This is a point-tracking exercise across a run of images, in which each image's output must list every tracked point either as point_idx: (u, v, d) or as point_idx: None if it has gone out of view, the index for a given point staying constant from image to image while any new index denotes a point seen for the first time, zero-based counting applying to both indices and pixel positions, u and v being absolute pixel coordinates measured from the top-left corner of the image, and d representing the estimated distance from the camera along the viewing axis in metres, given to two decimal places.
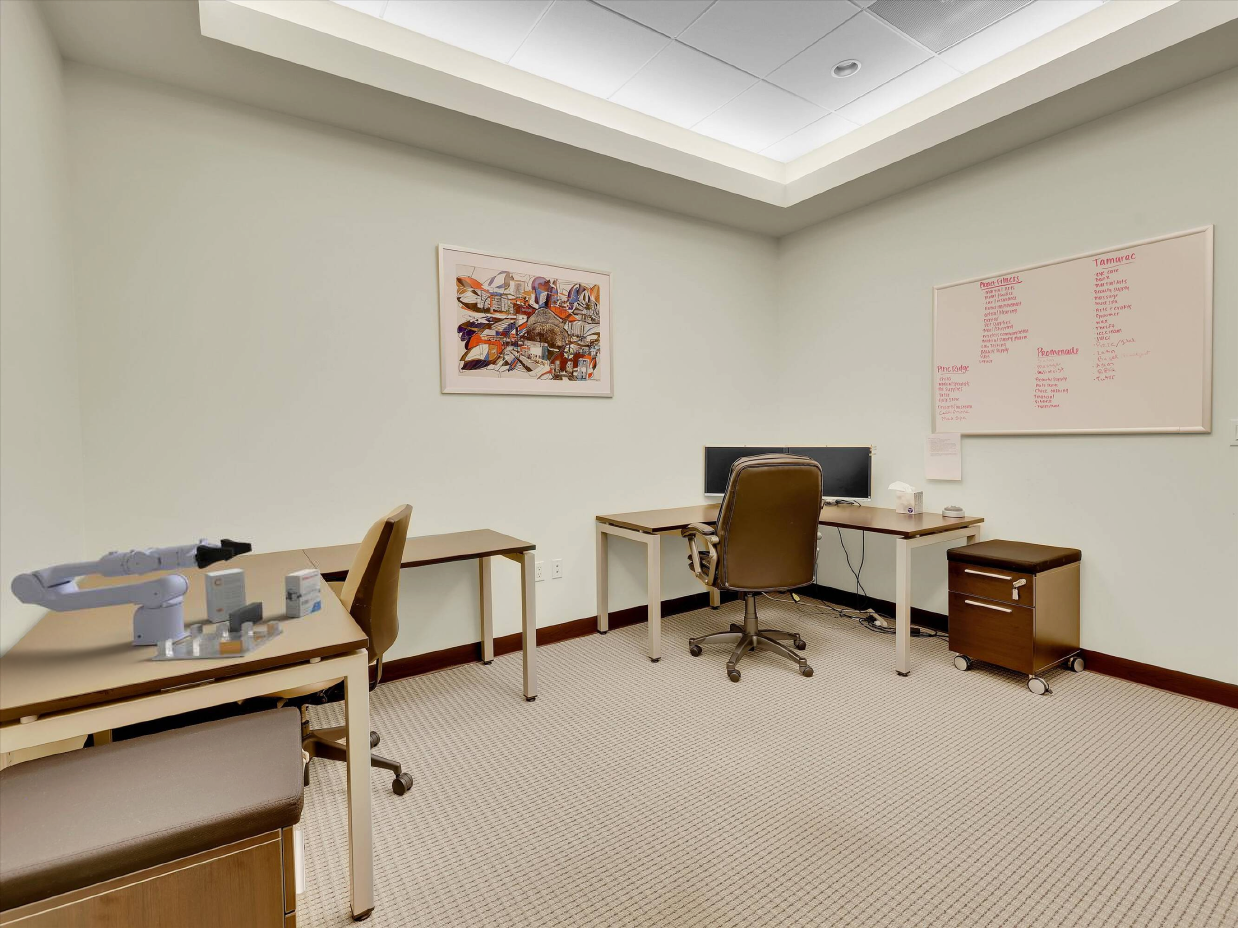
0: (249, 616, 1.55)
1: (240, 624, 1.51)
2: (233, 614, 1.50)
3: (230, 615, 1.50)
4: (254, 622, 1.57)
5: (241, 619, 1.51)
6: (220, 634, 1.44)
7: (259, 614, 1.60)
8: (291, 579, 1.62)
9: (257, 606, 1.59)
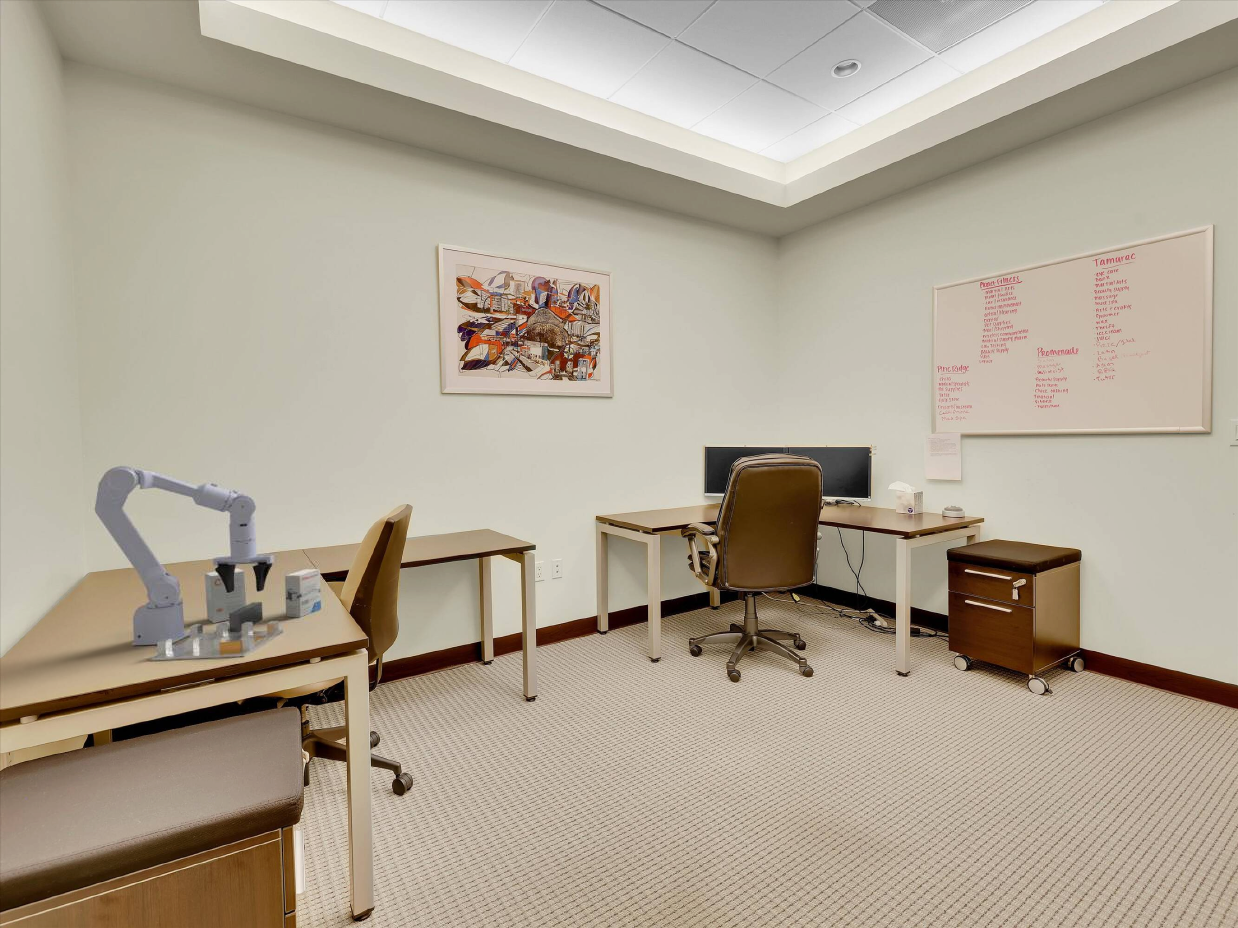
0: (249, 616, 1.55)
1: (240, 624, 1.51)
2: (233, 614, 1.50)
3: (230, 615, 1.50)
4: (254, 622, 1.57)
5: (241, 619, 1.51)
6: (220, 634, 1.44)
7: (259, 614, 1.60)
8: (291, 579, 1.62)
9: (257, 606, 1.59)
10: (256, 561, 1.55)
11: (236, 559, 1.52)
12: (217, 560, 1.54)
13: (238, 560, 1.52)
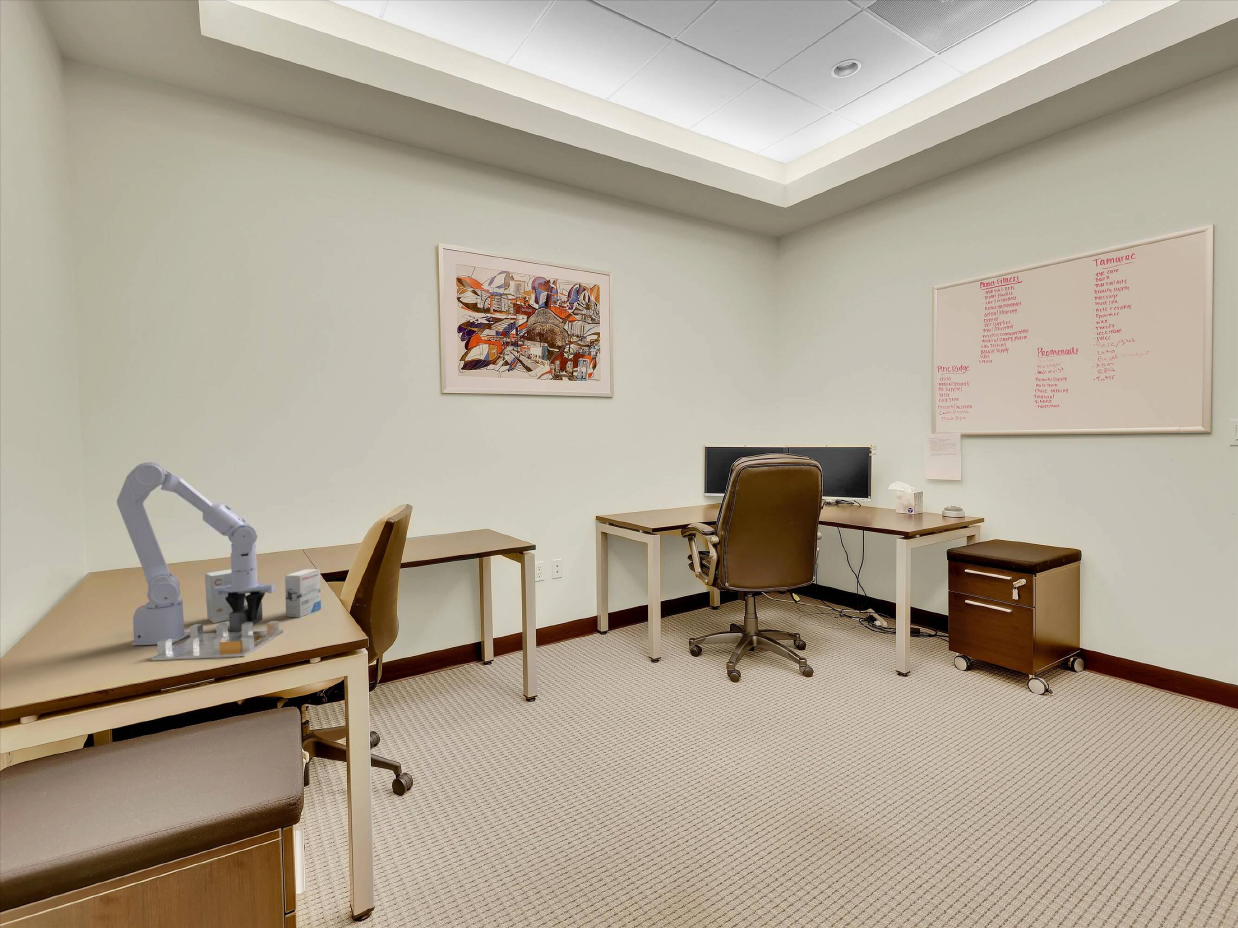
0: None
1: (240, 623, 1.51)
2: (233, 613, 1.50)
3: (230, 614, 1.50)
4: (254, 621, 1.57)
5: (241, 618, 1.51)
6: (220, 634, 1.44)
7: (259, 614, 1.60)
8: (291, 579, 1.62)
9: None
10: (257, 590, 1.55)
11: (237, 589, 1.53)
12: (218, 589, 1.54)
13: (239, 590, 1.53)
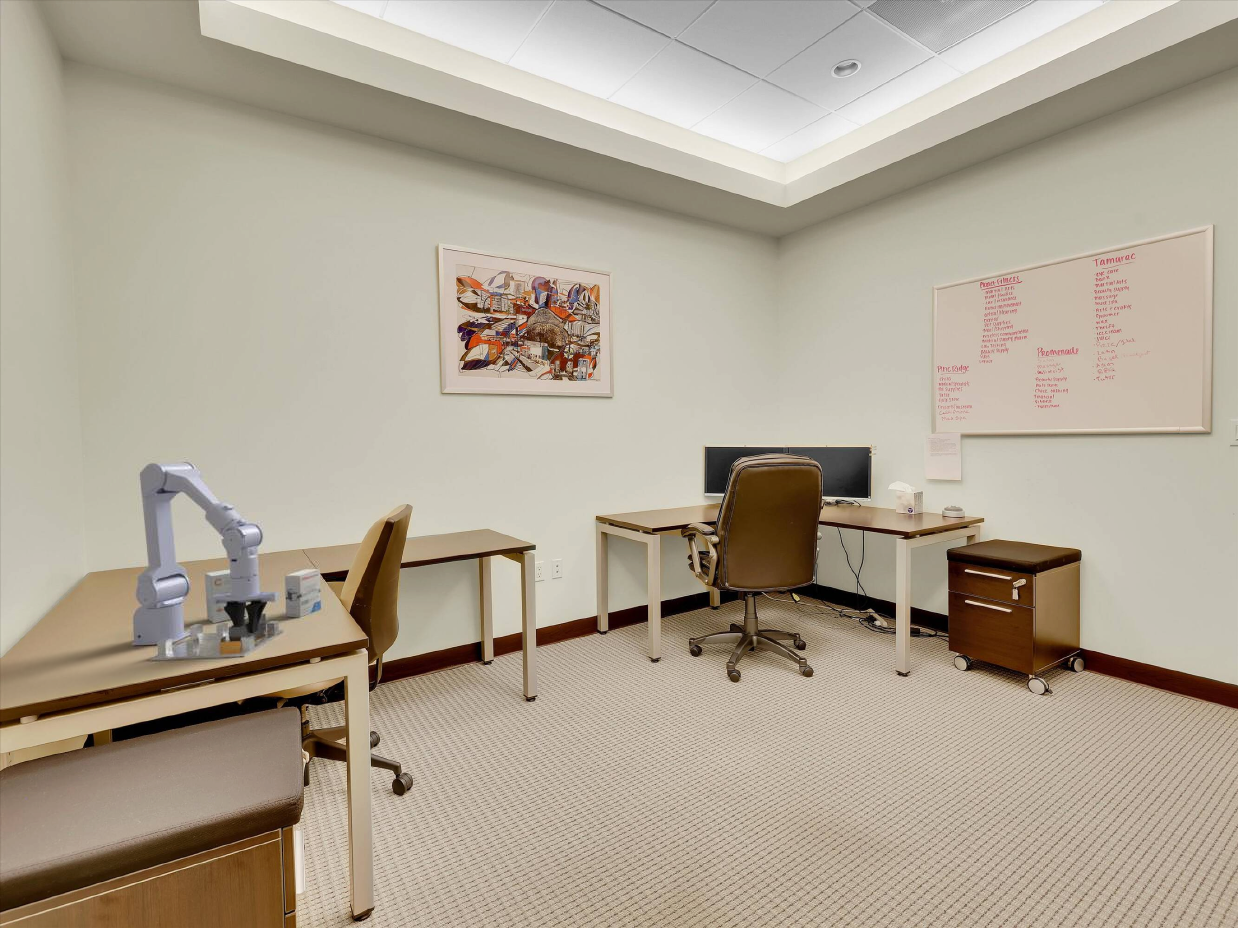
0: None
1: None
2: (233, 628, 1.35)
3: (230, 629, 1.35)
4: (257, 636, 1.42)
5: (242, 633, 1.36)
6: (220, 634, 1.44)
7: (262, 627, 1.45)
8: (291, 579, 1.62)
9: (260, 618, 1.44)
10: (259, 599, 1.40)
11: (237, 597, 1.37)
12: (216, 598, 1.39)
13: (239, 599, 1.37)
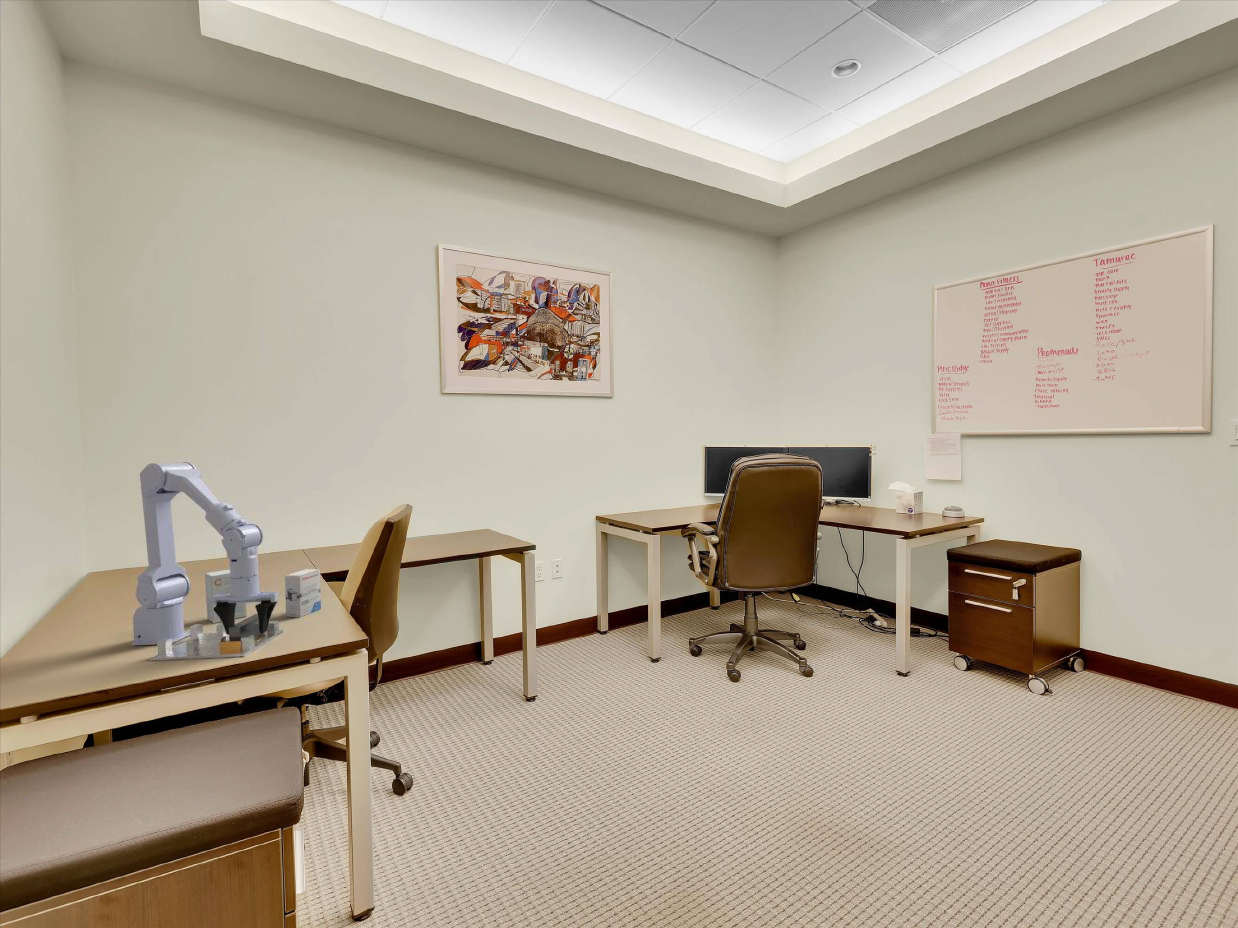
0: (251, 630, 1.40)
1: None
2: (234, 628, 1.35)
3: (230, 629, 1.35)
4: (257, 636, 1.42)
5: (243, 633, 1.36)
6: (220, 634, 1.44)
7: None
8: (291, 579, 1.62)
9: None
10: (259, 599, 1.40)
11: (237, 598, 1.37)
12: (216, 598, 1.39)
13: (239, 599, 1.37)
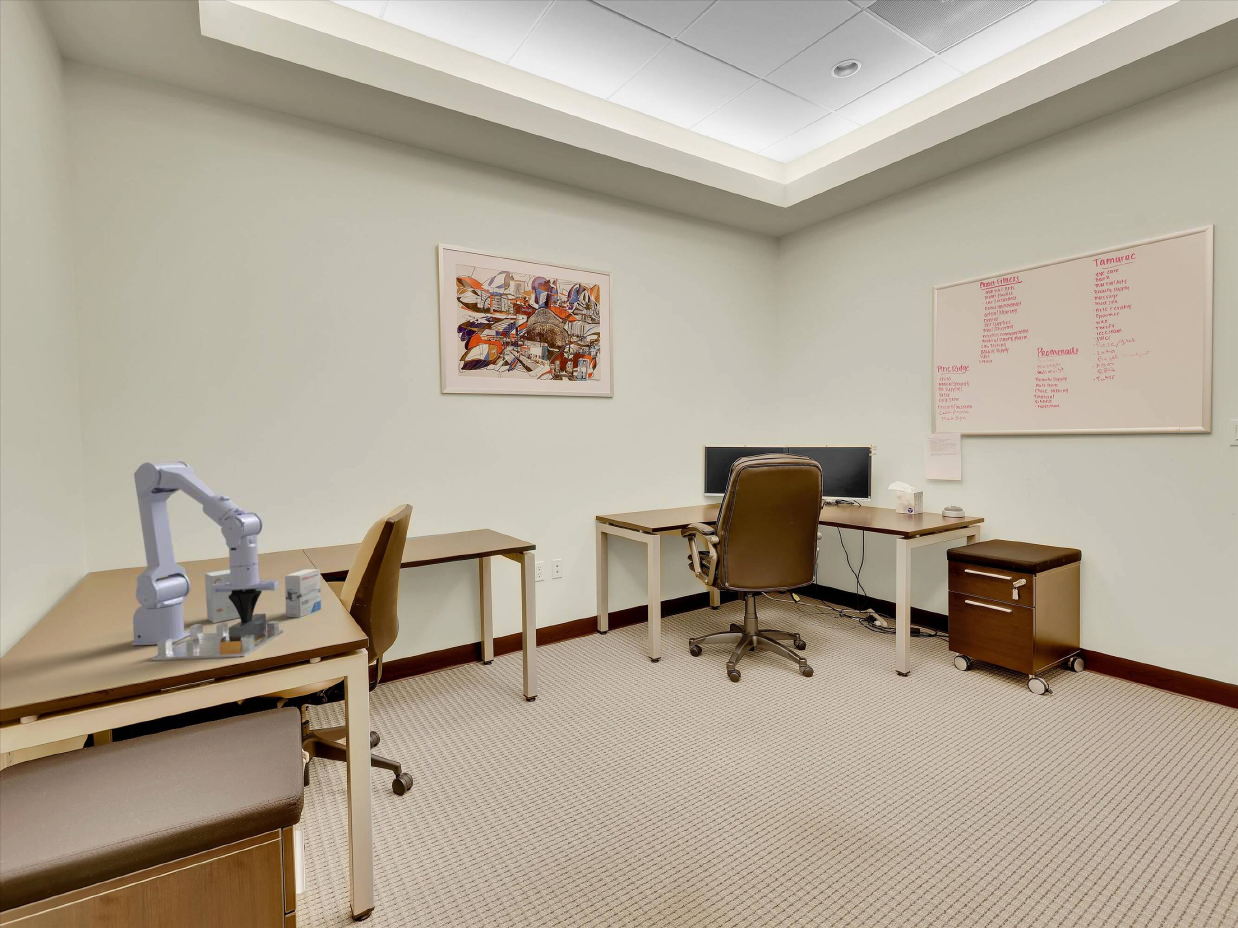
0: (251, 630, 1.40)
1: None
2: (234, 628, 1.35)
3: (230, 629, 1.35)
4: (257, 636, 1.42)
5: (243, 633, 1.36)
6: (220, 634, 1.44)
7: (262, 627, 1.45)
8: (291, 579, 1.62)
9: (260, 618, 1.44)
10: (259, 588, 1.40)
11: (236, 586, 1.37)
12: (215, 587, 1.39)
13: (239, 587, 1.37)
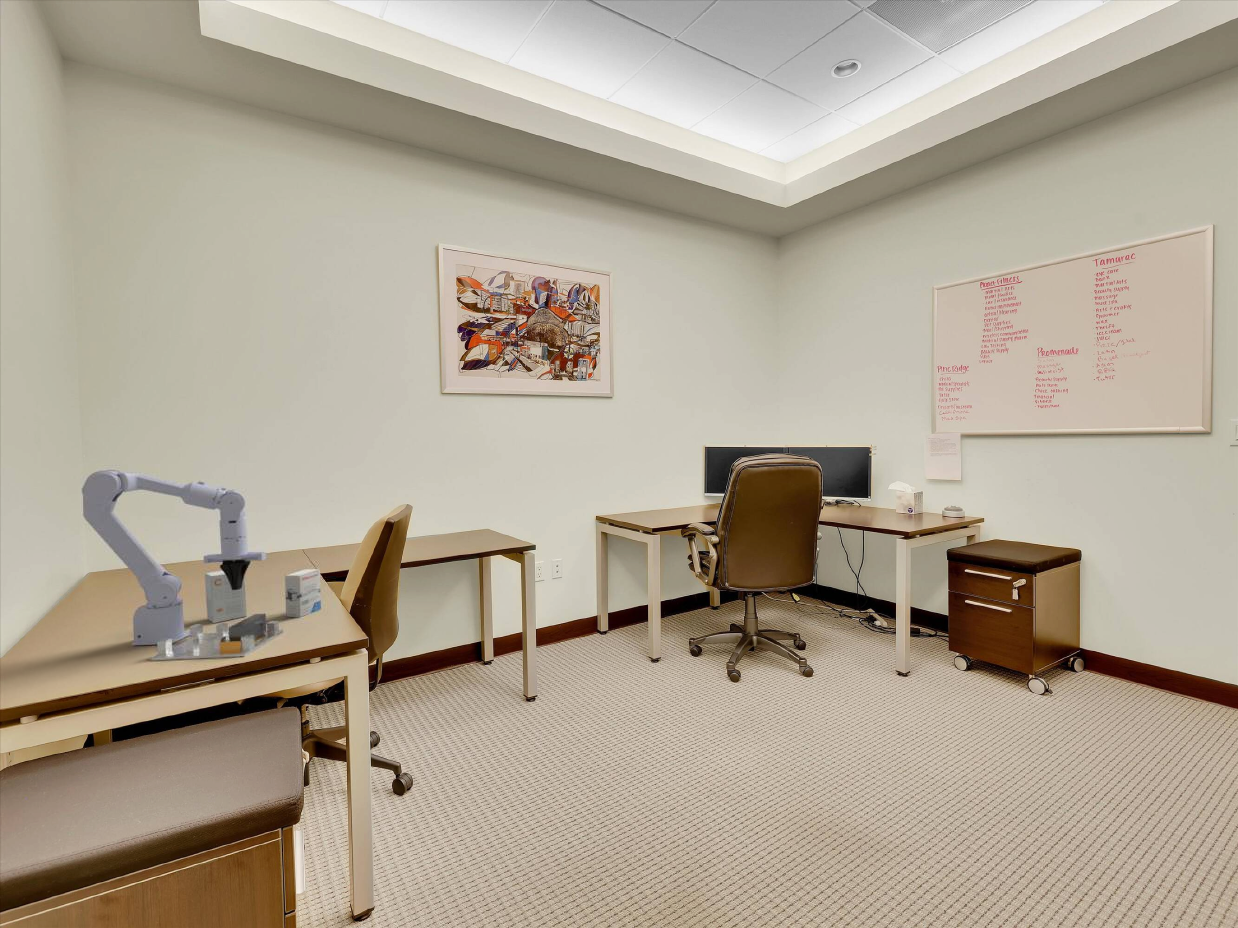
0: (251, 630, 1.40)
1: None
2: (234, 628, 1.35)
3: (230, 629, 1.35)
4: (257, 636, 1.42)
5: (243, 633, 1.36)
6: (220, 634, 1.44)
7: (262, 627, 1.45)
8: (291, 579, 1.62)
9: (260, 618, 1.44)
10: (247, 558, 1.53)
11: (227, 556, 1.50)
12: (208, 558, 1.51)
13: (229, 557, 1.50)
